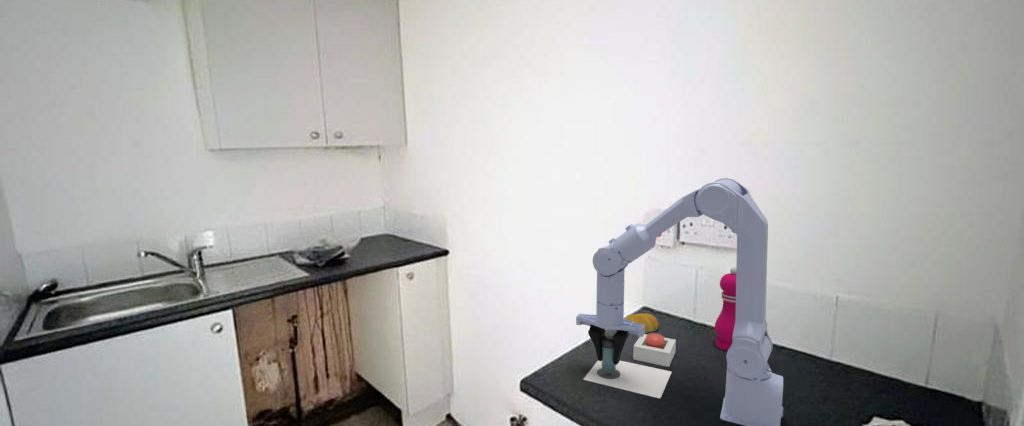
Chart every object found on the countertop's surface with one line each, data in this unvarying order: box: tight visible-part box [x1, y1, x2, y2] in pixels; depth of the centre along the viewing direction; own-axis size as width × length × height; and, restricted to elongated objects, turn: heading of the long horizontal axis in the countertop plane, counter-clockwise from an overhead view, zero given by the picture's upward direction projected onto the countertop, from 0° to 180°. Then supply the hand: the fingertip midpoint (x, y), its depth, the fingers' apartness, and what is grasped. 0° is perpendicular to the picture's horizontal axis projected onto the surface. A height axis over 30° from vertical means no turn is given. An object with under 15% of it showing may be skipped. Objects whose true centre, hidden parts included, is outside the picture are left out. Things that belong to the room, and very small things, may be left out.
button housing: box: [632, 333, 677, 368], centre depth 111 cm, size 8×8×4 cm
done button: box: [646, 332, 665, 349], centre depth 111 cm, size 4×4×2 cm
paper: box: [583, 360, 673, 399], centre depth 102 cm, size 16×12×1 cm
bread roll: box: [624, 312, 660, 334], centre depth 128 cm, size 8×9×4 cm
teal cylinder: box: [602, 335, 616, 372], centre depth 103 cm, size 3×3×7 cm
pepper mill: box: [714, 267, 736, 352], centre depth 115 cm, size 7×7×20 cm
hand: (608, 360), depth 103 cm, fingers closed on teal cylinder, 3 cm apart
